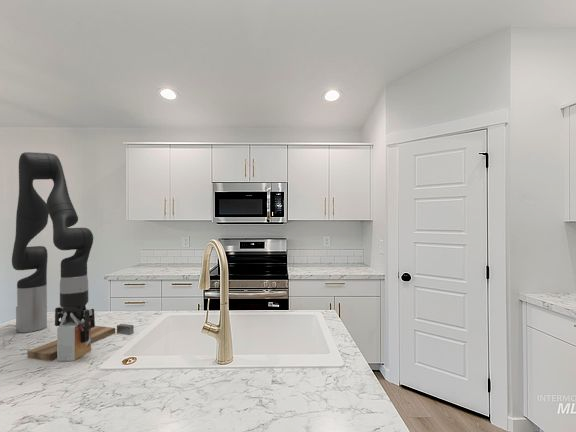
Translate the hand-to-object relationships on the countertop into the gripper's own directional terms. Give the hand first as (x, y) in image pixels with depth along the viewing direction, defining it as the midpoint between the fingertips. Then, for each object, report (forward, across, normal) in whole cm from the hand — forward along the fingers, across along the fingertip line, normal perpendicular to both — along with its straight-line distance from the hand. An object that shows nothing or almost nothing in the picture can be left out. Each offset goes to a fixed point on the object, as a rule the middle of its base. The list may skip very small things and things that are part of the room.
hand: (74, 340), depth 98 cm
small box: (+5, 0, 0) cm, 5 cm away
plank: (+5, -9, +7) cm, 12 cm away
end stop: (+5, 0, +20) cm, 21 cm away
